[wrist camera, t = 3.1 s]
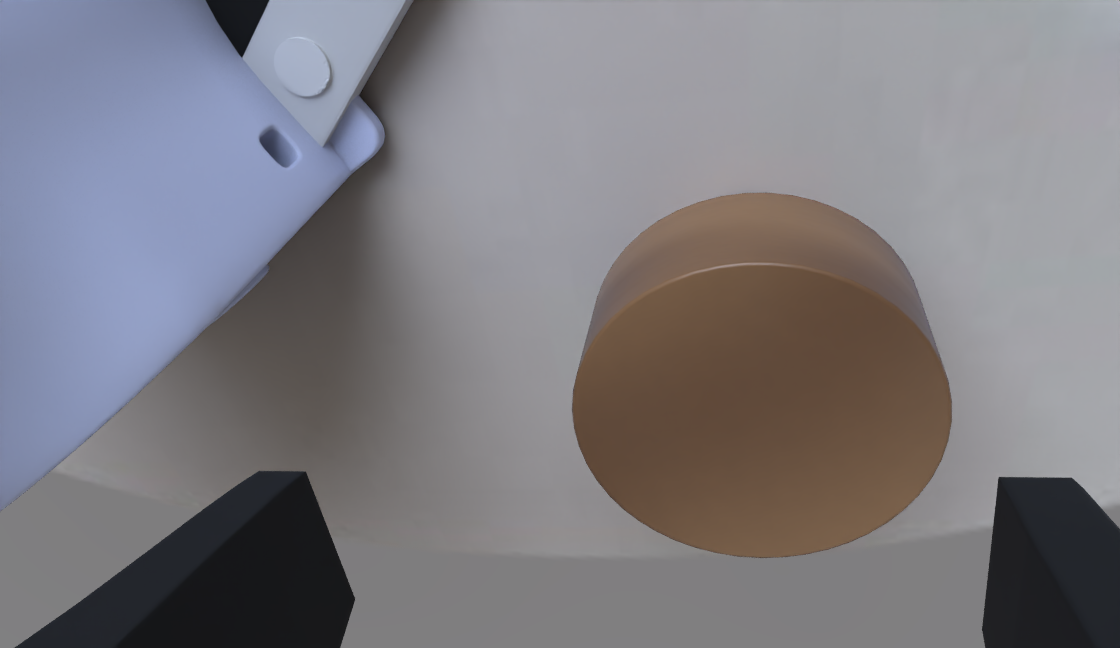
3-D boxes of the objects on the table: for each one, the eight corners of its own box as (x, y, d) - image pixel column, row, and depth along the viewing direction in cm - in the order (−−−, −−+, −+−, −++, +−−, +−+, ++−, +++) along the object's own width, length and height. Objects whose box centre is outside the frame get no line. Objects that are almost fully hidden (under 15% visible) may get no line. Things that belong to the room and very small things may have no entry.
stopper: (955, 309, 18) (1022, 477, 14) (710, 428, 20) (703, 600, 16) (801, 75, 16) (824, 187, 12) (553, 239, 18) (498, 378, 14)
